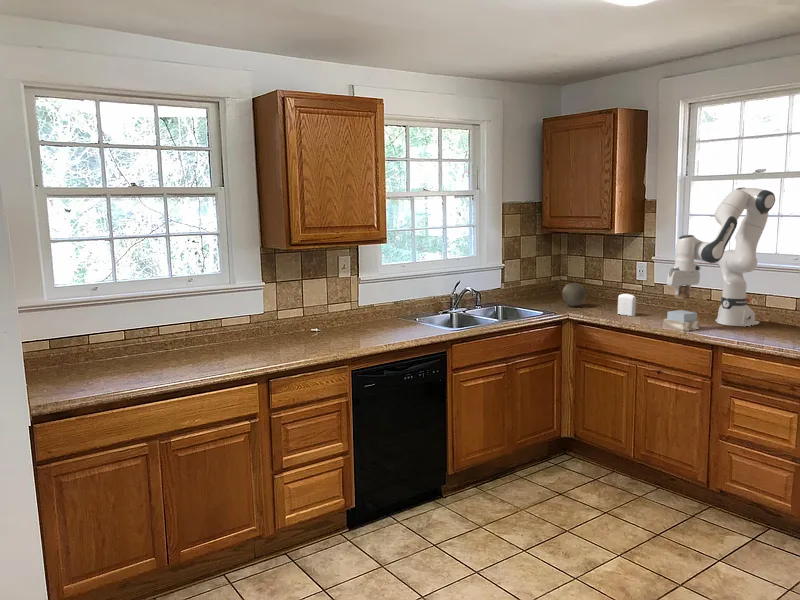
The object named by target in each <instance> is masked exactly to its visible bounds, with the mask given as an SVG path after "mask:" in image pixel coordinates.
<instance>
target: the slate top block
mask: <svg viewBox="0 0 800 600" xmlns="http://www.w3.org/2000/svg"><path fill="white" fill-rule="evenodd" d="M666 319H669V320H674V321H679V322H690V321H697V320H698V312H695V311H689V310H684V309H683V310H682V309H678V310H677V309H676V310H670V311H667V317H666Z"/></svg>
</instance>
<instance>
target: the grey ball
mask: <svg viewBox="0 0 800 600" xmlns="http://www.w3.org/2000/svg"><path fill="white" fill-rule="evenodd" d="M561 291H562V293H561V295H562V300H563V301H564V302H565V303H566V304H567V305H568V306H570V307H575V308H577V307H579V306H581V305H582V304H583V303H585V301H586V299H587V298H586V297H587V293H586V290H585V287H584V286H583V285H582V284H581V283H579V282H571V283H567V284H565V286H564V287H563V288H562V290H561Z"/></svg>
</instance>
